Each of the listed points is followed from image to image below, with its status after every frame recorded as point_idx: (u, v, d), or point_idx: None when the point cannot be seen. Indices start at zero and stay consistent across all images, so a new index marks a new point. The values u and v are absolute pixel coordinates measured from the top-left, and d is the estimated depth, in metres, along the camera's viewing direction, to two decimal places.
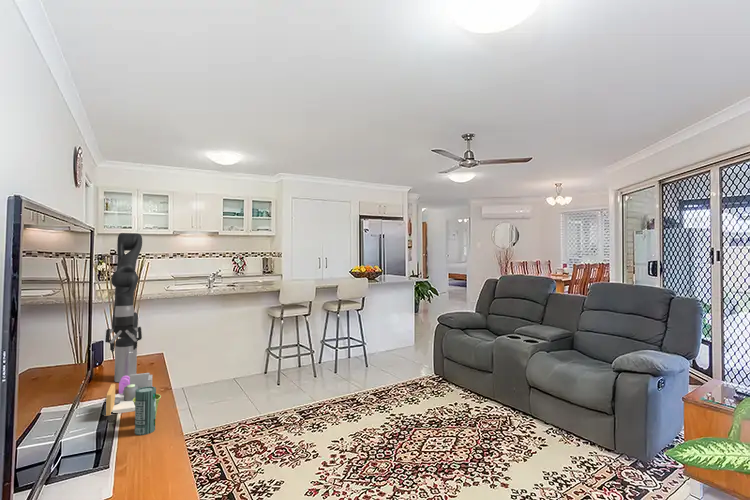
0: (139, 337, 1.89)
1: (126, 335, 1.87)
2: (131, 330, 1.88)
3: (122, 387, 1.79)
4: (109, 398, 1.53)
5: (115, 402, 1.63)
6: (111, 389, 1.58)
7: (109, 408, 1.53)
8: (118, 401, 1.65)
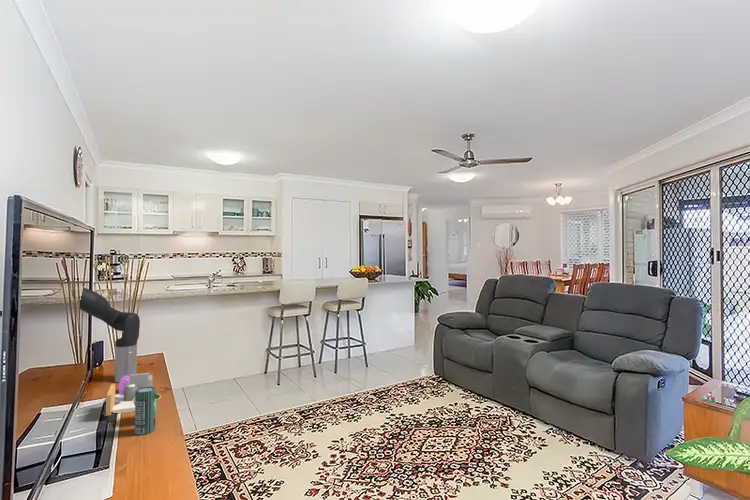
0: None
1: None
2: None
3: (122, 387, 1.79)
4: (109, 398, 1.53)
5: (115, 402, 1.63)
6: (111, 389, 1.58)
7: (109, 408, 1.53)
8: (118, 401, 1.65)
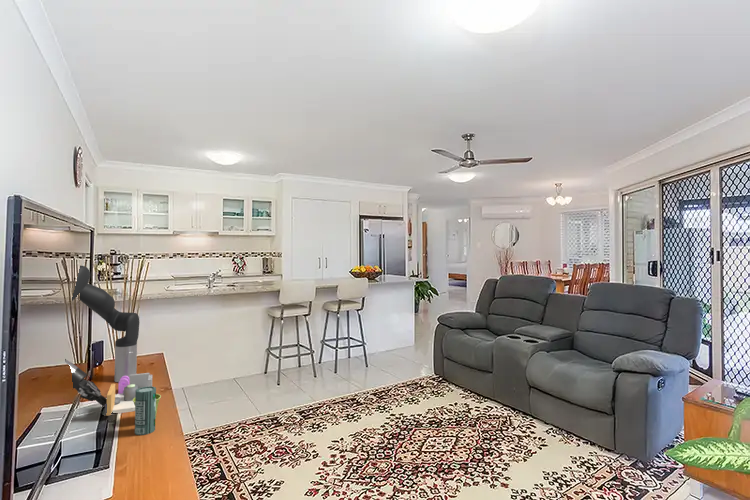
0: None
1: None
2: None
3: (122, 387, 1.79)
4: (109, 398, 1.53)
5: (115, 402, 1.63)
6: (111, 389, 1.58)
7: (109, 408, 1.53)
8: (118, 401, 1.65)
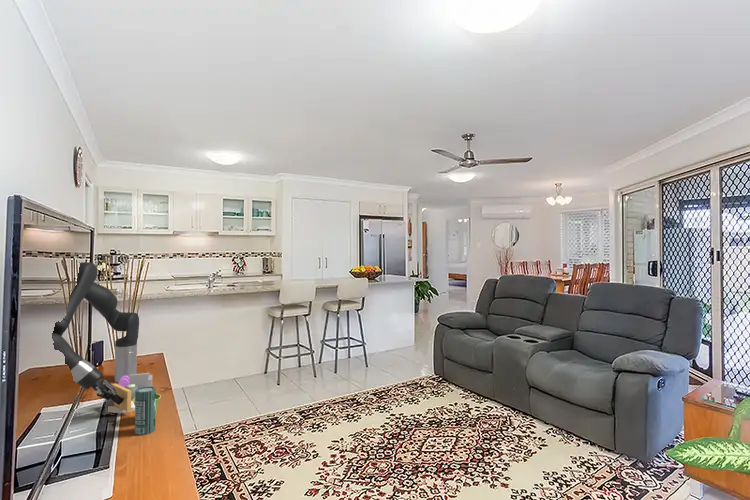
0: None
1: None
2: None
3: None
4: (130, 394, 1.57)
5: None
6: (122, 387, 1.61)
7: (130, 404, 1.57)
8: None
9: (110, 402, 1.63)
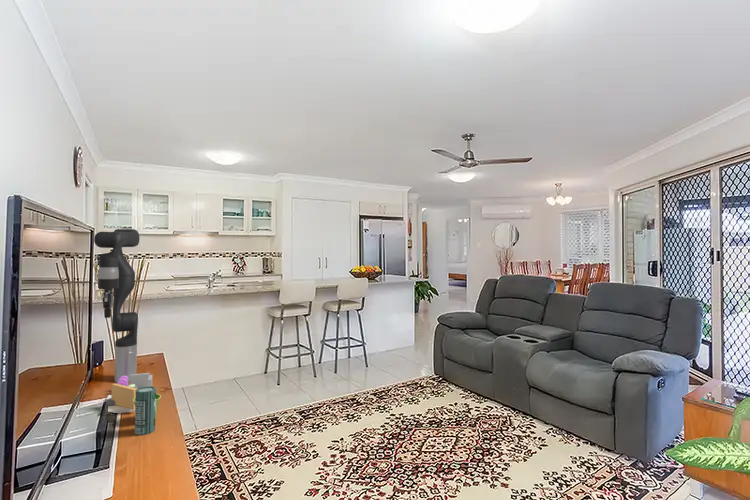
0: None
1: None
2: (104, 294, 1.72)
3: None
4: None
5: None
6: (125, 386, 1.62)
7: None
8: None
9: (111, 402, 1.63)
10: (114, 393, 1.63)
